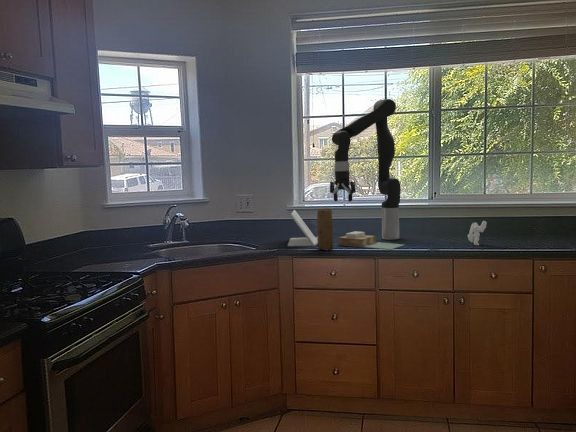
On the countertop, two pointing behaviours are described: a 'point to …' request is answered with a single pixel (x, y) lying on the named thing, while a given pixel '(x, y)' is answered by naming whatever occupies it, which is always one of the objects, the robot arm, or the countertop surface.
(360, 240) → the board
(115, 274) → the countertop surface
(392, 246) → the mat
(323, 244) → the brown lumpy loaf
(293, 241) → the tablet stand
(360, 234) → the pale grey rectangular block
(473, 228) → the figurine
